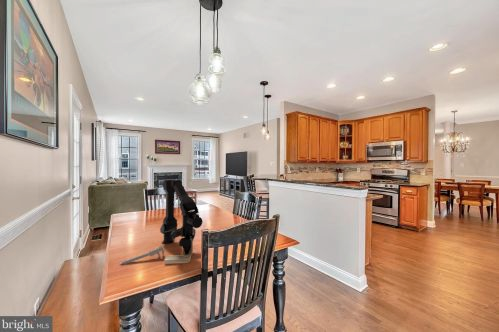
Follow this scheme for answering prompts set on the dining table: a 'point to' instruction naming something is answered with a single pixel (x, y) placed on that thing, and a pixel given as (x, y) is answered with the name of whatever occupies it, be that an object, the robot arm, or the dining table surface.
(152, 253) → the caliper
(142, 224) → the dining table surface
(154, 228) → the dining table surface
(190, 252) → the brown block with knob
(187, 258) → the board
